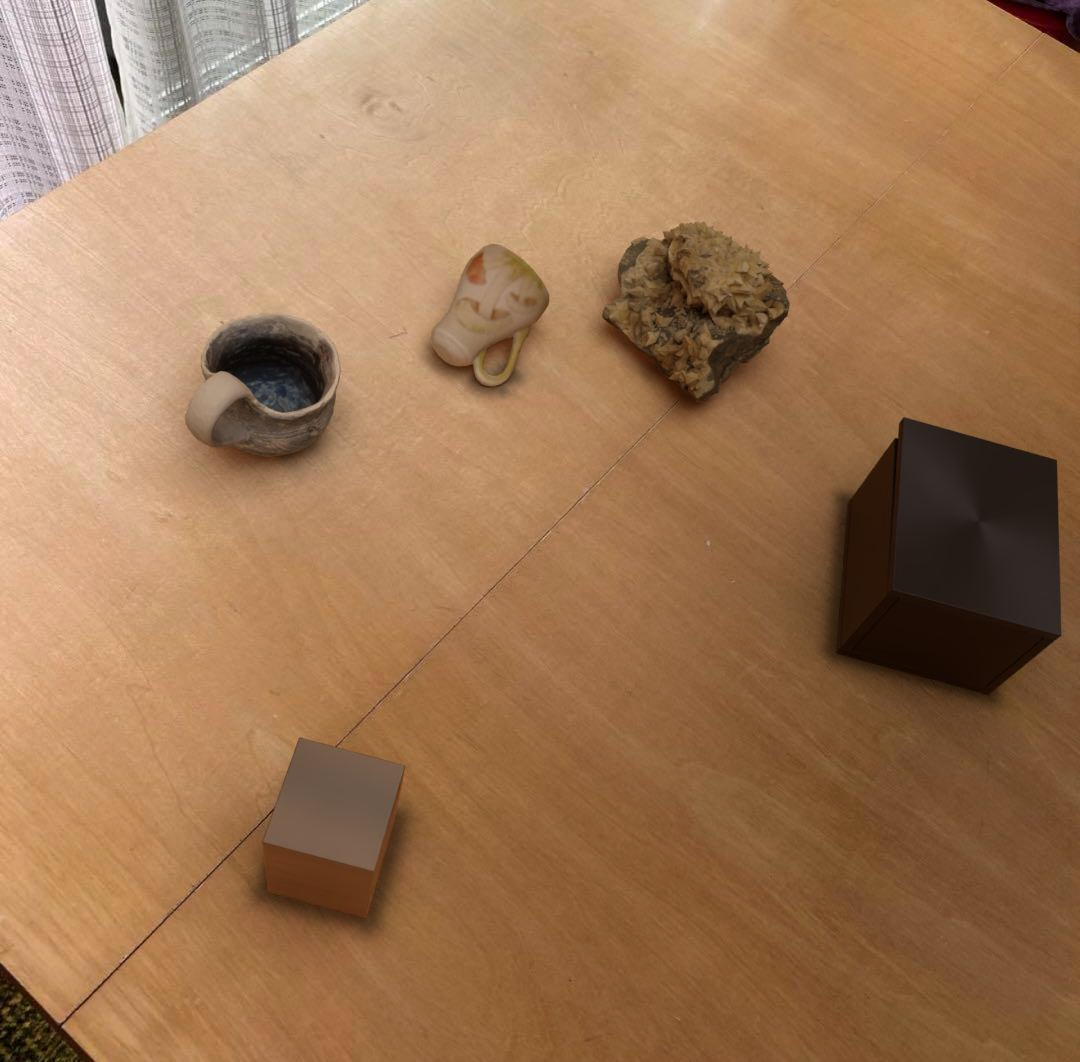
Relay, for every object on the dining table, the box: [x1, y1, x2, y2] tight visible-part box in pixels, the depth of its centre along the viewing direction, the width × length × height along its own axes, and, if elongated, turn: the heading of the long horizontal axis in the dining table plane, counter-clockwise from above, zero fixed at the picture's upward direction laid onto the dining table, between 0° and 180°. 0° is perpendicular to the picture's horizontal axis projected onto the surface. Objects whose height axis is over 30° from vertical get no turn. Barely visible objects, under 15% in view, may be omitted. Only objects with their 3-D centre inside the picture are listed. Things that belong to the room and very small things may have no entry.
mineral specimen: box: [601, 221, 791, 404], centre depth 93 cm, size 14×13×10 cm
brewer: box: [836, 437, 1055, 695], centre depth 84 cm, size 14×12×9 cm
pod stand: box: [262, 737, 406, 919], centre depth 66 cm, size 6×6×10 cm
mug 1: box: [184, 312, 342, 458], centre depth 81 cm, size 10×12×10 cm
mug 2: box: [430, 243, 550, 387], centre depth 91 cm, size 8×10×10 cm
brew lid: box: [888, 416, 1062, 642], centre depth 80 cm, size 14×12×1 cm
